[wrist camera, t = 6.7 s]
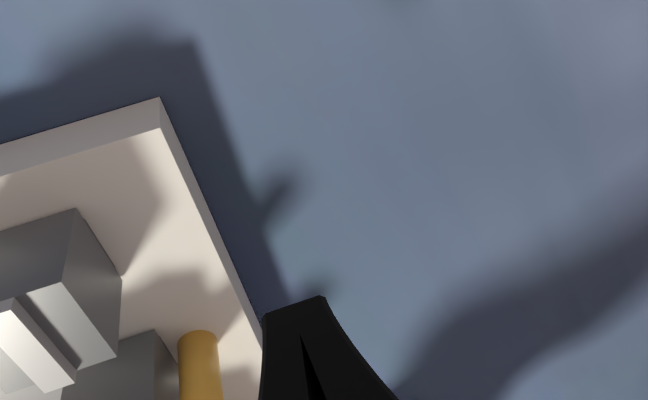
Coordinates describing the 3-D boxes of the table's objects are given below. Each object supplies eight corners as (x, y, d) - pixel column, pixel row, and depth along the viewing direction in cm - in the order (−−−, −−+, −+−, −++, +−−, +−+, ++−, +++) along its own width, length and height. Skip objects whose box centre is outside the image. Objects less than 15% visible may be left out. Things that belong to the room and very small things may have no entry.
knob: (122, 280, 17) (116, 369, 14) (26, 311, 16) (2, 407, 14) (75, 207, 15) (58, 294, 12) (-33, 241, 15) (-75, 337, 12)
